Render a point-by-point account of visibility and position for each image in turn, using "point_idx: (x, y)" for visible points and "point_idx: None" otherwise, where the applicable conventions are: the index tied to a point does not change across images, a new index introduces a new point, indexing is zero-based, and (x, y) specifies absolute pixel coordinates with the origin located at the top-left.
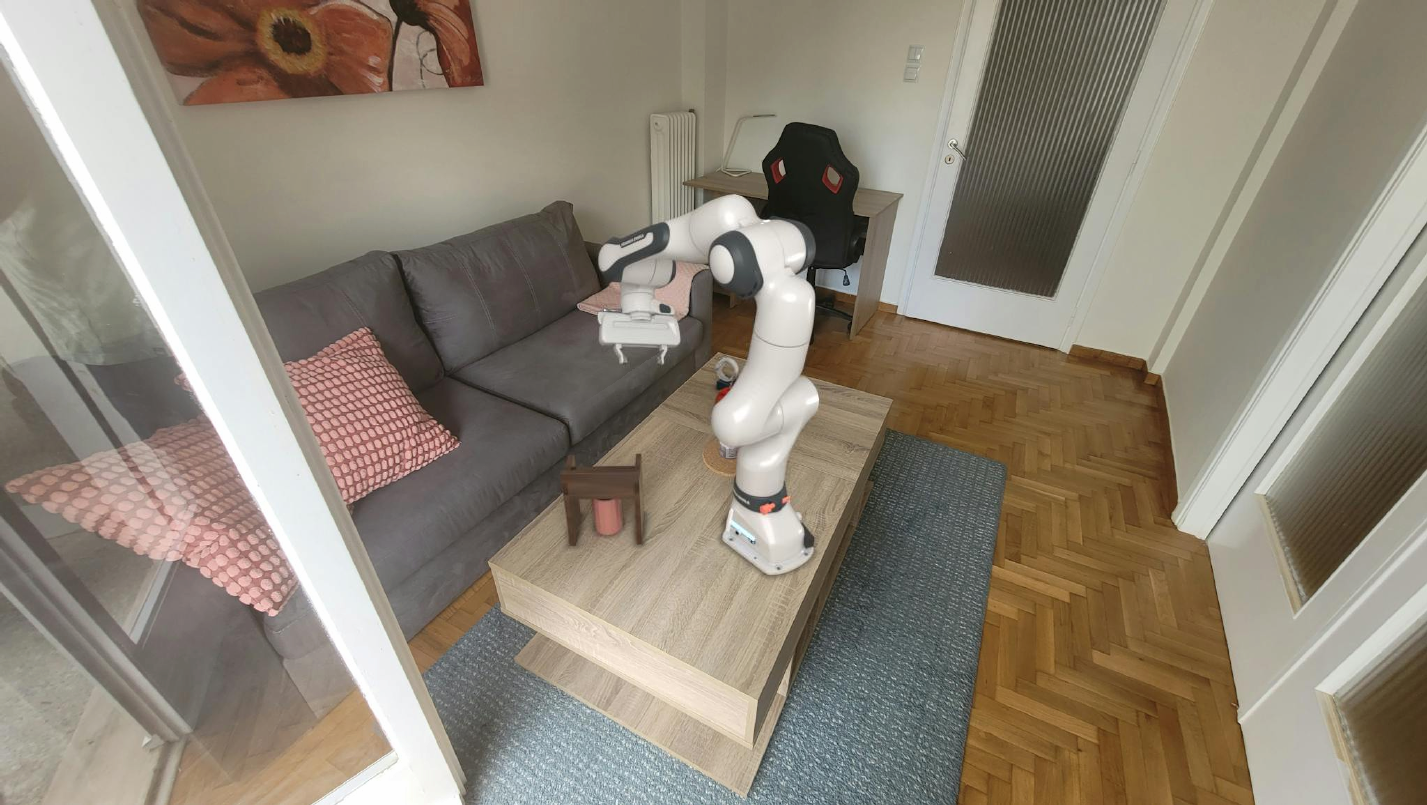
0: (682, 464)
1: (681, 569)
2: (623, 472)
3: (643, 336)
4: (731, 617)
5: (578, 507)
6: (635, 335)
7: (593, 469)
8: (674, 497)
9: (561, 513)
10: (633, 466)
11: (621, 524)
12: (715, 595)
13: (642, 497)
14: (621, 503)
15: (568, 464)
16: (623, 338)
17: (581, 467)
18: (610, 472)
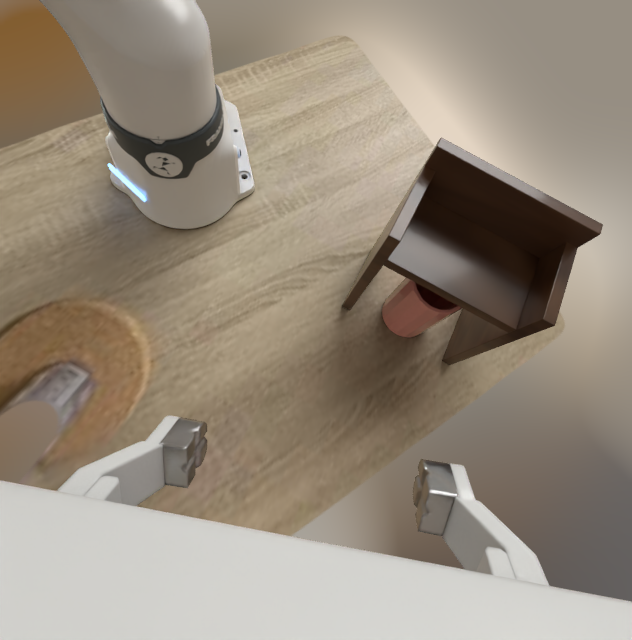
0: (195, 404)
1: (339, 181)
2: (472, 154)
3: (259, 600)
4: (319, 95)
5: (464, 338)
6: (358, 631)
7: (481, 298)
8: (269, 317)
9: (472, 384)
10: (394, 261)
11: (391, 293)
12: (319, 126)
13: (365, 266)
14: (403, 281)
15: (560, 288)
16: (506, 614)
17: (504, 319)
18: (499, 170)
